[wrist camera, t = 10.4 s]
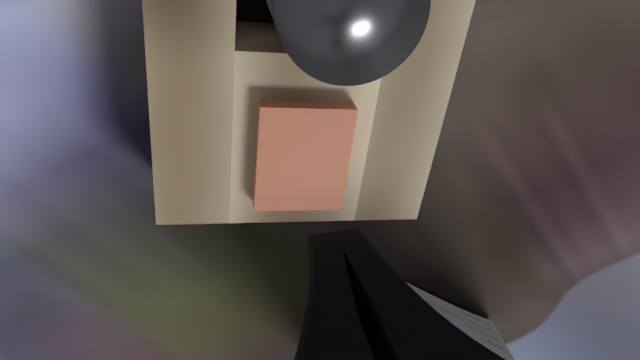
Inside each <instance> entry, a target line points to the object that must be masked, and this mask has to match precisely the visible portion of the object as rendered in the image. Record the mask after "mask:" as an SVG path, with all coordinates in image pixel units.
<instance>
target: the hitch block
mask: <svg viewBox="0 0 640 360" xmlns="http://www.w3.org/2000/svg"><path fill="white" fill-rule="evenodd" d="M475 1H476V0H431V6H430V13H429V19H428V22H427V25H426V29H425V31H424V33H423V35H422V38H421V40H420V41H419V43H418V45H417V46H416V48H415V49H414V51H413V52H412V53H411V55H410V56H409V57H408V58H407V59H406V60H405V61H404V62H403V63H402V64H401V65H400V66H399V67H397V68H396V69H395V70H393V71H392V72H391V73H389V74H388V75H386V76H384V77H382V78H380V79H378V80H375V81H373V82H370V83H366V84H362V85H356V86H338V85H331V84H327V83H324V82H321V81H319V80H316V79H314V78H313V77H311V76H309V75H307V74H306V73H305V72H304V71H302V70H301V69H300V68H299V67H298V66H297V65H296V64H295V63H294V62H293V61H292V59H291V58H290V57H289V55H288V54H287V52H286V50H285V48H284V47H283V44H282V42H281V39H280V36H279V34H278V31H277V28H276V25H275V23H262V22H246V21H236V0H142V7H143V23H144V39H145V55H146V72H147V88H148V104H149V120H150V136H151V152H152V168H153V184H154V200H155V216H156V225H173V224H218V223H263V222H308V221H353V220H398V219H417V217H418V213H419V209H420V205H421V202H422V198H423V194H424V191H425V187H426V183H427V179H428V176H429V172H430V168H431V165H432V161H433V157H434V153H435V150H436V146H437V142H438V138H439V135H440V131H441V127H442V124H443V120H444V116H445V112H446V109H447V105H448V101H449V98H450V94H451V90H452V86H453V83H454V79H455V75H456V72H457V68H458V64H459V60H460V57H461V53H462V49H463V46H464V42H465V38H466V34H467V31H468V27H469V23H470V20H471V16H472V12H473V8H474V5H475ZM258 100H274V101H310V102H346V103H354V104H355V106H356V107H357V109H358V112H357V118H356V125H355V131H354V137H353V143H352V149H351V155H350V162H349V168H348V174H347V180H346V186H345V192H344V198H343V205H342V210H303V211H254V208H253V185H254V167H255V149H256V132H257V115H258Z"/></svg>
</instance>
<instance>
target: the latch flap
mask: <svg viewBox="0 0 640 360" xmlns="http://www.w3.org/2000/svg"><path fill="white" fill-rule="evenodd" d="M357 112H358V109H357V107H356V106H355V104H354V103H346V102H310V101H274V100H258V115H257V132H256V149H255V167H254V185H253V208H254V211H303V210H342V205H343V198H344V192H345V186H346V180H347V174H348V168H349V162H350V155H351V149H352V143H353V137H354V131H355V125H356V118H357Z"/></svg>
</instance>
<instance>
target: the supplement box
mask: <svg viewBox="0 0 640 360" xmlns="http://www.w3.org/2000/svg"><path fill="white" fill-rule="evenodd" d="M406 283H407V282H406ZM407 284H408V285H409V286H410V287H411V288H412V289H413V290H414V291H415V292H416V293H417V294H418V295H420V296H421V297H422V298H423V299H424V300H425V301H426V302H427V303H428V304H429V305H431V306H432V307H433V308H434V309H435V310H436V311H438V312H439V313H440V314H441V315H442V316H444V317H445V318H446V319H447V320H449V321H450V322H451V323H452V324H454V325H455V326H456V327H458V328H459V329H460V330H462V331H463V332H465V333H466V334H467V335H469V336H470V337H471V338H473V339H474V340H476V341H477V342H479V343H480V344H482V345H483V346H485V347H487V348H488V349H490V350H491V351H493V352H494V353H496V354H497V355H499V356H501V357H502V358H504V359H505V360H514V358H513V356H512V355H511V353H510V351H509V349H508V348H507V346H506V344H505V343H504V341H503V339H502V338H501V336H500V334H499V332H498V331H497V329H496V327H495V326H494V324H493V322H492V321H491V320H488V319H486V318H483V317H480V316H478V315H475V314H472V313H470V312H468V311H465V310H463V309H461V308H458V307H456V306H454V305H452V304H450V303H448V302H446V301H444V300H441V299H439V298H437V297H435V296H433V295H431V294H429V293H427V292H425V291H423V290H421V289H419V288H417V287H415V286H413V285H411V284H409V283H407Z"/></svg>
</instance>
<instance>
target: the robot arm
mask: <svg viewBox="0 0 640 360" xmlns="http://www.w3.org/2000/svg"><path fill="white" fill-rule="evenodd" d="M307 240H308V252H309V265H310V284H309V294H308V301H307V307H306V312H305V318H304V323H303V328H302V332H301V337H300V341H299V344H298V348H297V352H296V355H295V359H294V360H505V359H504V358H502V357H501V356H499V355H497V354H496V353H494V352H493V351H491V350H490V349H488V348H487V347H485V346H483V345H482V344H480V343H479V342H477V341H476V340H474V339H473V338H471V337H470V336H469V335H467V334H466V333H465V332H463V331H462V330H460V329H459V328H458V327H456V326H455V325H454V324H452V323H451V322H450V321H449V320H447V319H446V318H445V317H444V316H442V315H441V314H440V313H439V312H438V311H436V310H435V309H434V308H433V307H432V306H431V305H429V304H428V303H427V302H426V301H425V300H424V299H423V298H422V297H421V296H420V295H418V294H417V293H416V292H415V291H414V290H413V289H412V288H411V287H410V286H409V285H408V284H407V283H406V282H405V281H404V280H403V279H402V278H401V277H400V276H399V275H398V274H397V273H396V272H395V271H394V269H393V268H392V267H391V266H390V265H389V264H388V263H387V262H386V261H385V260H384V258H383V257H382V256H381V255H380V254H379V253H378V252H377V250H376V249H375V248H374V247H373V245H372V244H371V243H370V242H369V240H368V239H367V238H366V237H365V235H364V234H363V233H362V231H361V230H359V229H358V228H354V229H348V230H341V231H335V232H329V233H322V234H316V235H311V236H310V237H309V238H308V239H307Z"/></svg>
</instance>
